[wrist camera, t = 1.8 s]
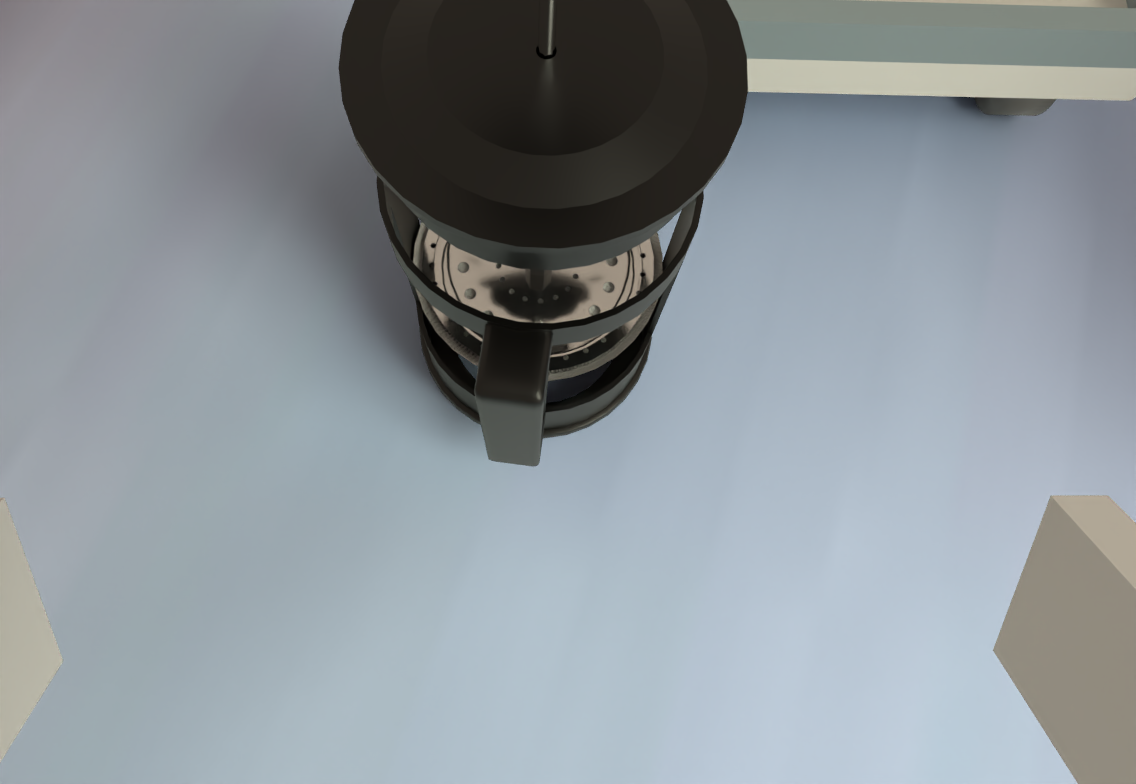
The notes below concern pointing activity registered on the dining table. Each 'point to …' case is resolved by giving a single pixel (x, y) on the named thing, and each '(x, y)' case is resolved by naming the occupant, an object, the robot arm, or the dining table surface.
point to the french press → (540, 184)
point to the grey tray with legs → (944, 49)
